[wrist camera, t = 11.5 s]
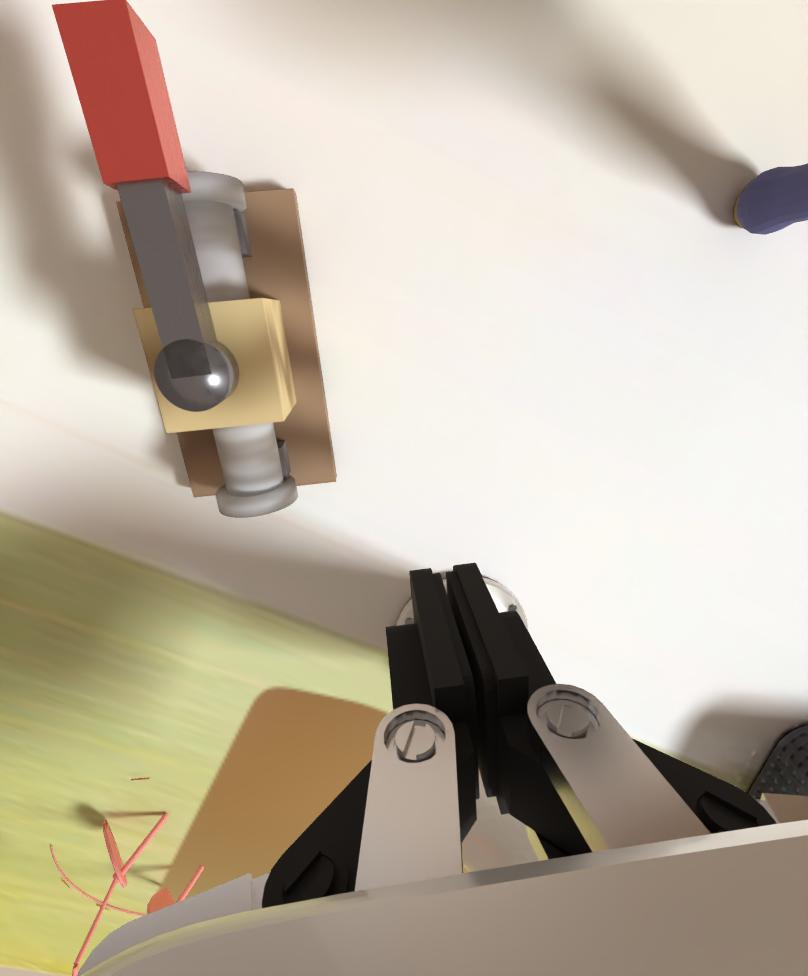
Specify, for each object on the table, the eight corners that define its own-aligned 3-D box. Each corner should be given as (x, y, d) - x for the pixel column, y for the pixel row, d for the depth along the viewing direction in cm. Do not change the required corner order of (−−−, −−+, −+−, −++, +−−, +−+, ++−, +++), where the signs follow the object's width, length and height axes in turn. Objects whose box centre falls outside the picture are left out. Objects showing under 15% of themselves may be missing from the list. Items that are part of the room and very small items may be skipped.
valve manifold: (336, 475, 39) (330, 520, 30) (199, 490, 38) (155, 541, 30) (296, 193, 32) (273, 151, 23) (126, 206, 31) (41, 167, 23)
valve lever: (247, 398, 27) (234, 408, 24) (183, 406, 27) (163, 417, 24) (164, 38, 21) (135, -3, 19) (82, 46, 21) (40, 5, 18)
